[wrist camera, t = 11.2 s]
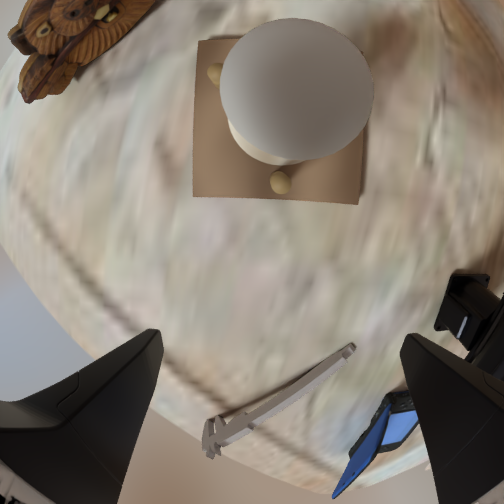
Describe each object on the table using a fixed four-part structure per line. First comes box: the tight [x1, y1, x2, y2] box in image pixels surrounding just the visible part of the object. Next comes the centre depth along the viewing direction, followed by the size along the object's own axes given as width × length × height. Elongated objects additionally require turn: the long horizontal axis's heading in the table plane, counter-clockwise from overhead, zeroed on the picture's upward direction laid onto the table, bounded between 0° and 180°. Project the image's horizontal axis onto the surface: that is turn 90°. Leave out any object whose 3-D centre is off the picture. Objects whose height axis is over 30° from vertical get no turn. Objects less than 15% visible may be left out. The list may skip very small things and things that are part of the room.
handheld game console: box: [332, 391, 419, 499], centre depth 26 cm, size 16×13×9 cm
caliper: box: [202, 344, 355, 459], centre depth 25 cm, size 20×1×6 cm, turn 131°
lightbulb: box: [220, 18, 374, 160], centre depth 12 cm, size 6×6×11 cm
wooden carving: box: [8, 0, 156, 104], centre depth 11 cm, size 16×5×10 cm, turn 135°
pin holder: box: [193, 39, 364, 205], centre depth 16 cm, size 12×12×4 cm
